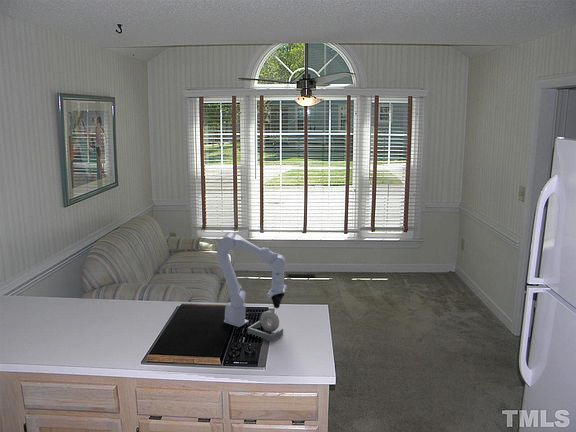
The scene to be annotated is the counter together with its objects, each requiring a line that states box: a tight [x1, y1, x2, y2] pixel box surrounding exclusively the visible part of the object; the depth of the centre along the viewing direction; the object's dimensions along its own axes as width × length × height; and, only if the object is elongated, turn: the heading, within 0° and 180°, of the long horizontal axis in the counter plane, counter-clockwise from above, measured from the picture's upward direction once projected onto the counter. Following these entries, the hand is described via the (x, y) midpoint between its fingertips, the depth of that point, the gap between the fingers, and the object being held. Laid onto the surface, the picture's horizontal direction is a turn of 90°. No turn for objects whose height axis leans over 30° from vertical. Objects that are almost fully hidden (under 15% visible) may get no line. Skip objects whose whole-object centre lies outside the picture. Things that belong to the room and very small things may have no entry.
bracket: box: [247, 320, 284, 343], centre depth 235 cm, size 14×9×3 cm
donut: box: [259, 310, 280, 333], centre depth 237 cm, size 10×4×10 cm, turn 60°
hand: (276, 307), depth 242 cm, fingers closed
